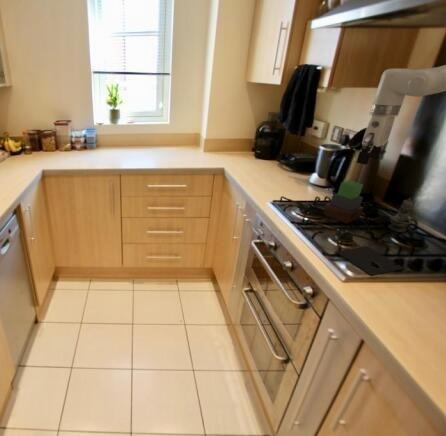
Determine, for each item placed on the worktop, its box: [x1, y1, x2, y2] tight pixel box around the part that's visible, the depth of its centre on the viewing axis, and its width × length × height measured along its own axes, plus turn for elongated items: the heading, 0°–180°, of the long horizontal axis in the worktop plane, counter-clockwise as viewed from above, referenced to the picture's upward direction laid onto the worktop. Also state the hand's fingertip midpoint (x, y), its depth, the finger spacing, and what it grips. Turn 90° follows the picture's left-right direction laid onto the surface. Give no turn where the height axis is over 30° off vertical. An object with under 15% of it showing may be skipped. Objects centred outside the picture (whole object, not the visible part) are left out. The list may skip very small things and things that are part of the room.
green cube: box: [337, 179, 364, 200], centre depth 117 cm, size 5×5×5 cm
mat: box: [335, 246, 405, 277], centre depth 96 cm, size 12×12×1 cm
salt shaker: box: [387, 197, 415, 233], centre depth 110 cm, size 6×6×12 cm
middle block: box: [329, 192, 364, 211], centre depth 119 cm, size 7×7×4 cm
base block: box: [322, 201, 365, 224], centre depth 121 cm, size 9×9×4 cm
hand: (367, 160), depth 111 cm, fingers open, 9 cm apart
